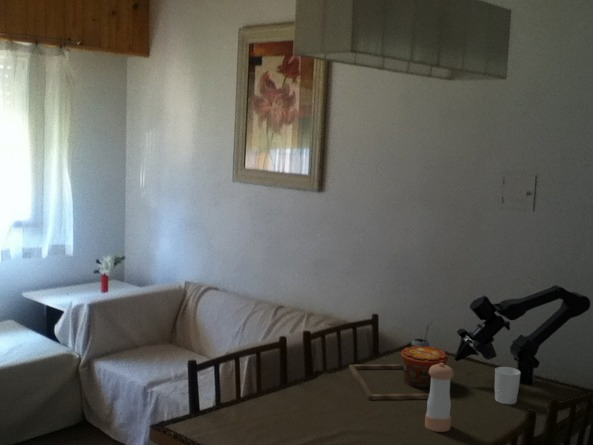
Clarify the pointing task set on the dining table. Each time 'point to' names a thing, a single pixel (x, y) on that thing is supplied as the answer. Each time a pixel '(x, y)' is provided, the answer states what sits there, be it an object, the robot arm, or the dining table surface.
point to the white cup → (506, 384)
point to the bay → (382, 396)
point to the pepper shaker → (439, 399)
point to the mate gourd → (421, 340)
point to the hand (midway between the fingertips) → (455, 360)
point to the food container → (421, 364)
